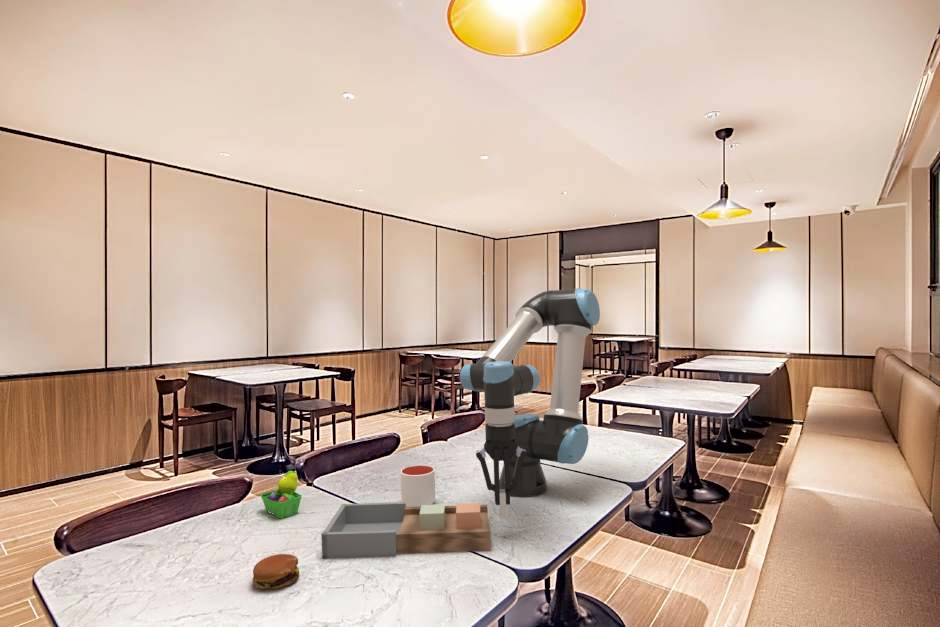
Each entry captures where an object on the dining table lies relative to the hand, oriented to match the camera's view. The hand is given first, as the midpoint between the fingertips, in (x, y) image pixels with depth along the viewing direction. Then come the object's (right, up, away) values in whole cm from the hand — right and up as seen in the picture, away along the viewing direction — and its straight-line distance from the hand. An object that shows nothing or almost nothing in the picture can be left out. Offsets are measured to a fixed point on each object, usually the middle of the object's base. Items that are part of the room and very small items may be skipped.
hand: (503, 516), depth 128 cm
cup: (-24, -6, +23) cm, 33 cm away
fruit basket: (-63, -7, +20) cm, 66 cm away
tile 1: (-18, -2, 0) cm, 18 cm away
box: (-34, -6, 0) cm, 35 cm away
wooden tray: (-15, -5, 0) cm, 15 cm away
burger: (-50, -6, -19) cm, 54 cm away
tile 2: (-9, -2, 0) cm, 9 cm away
